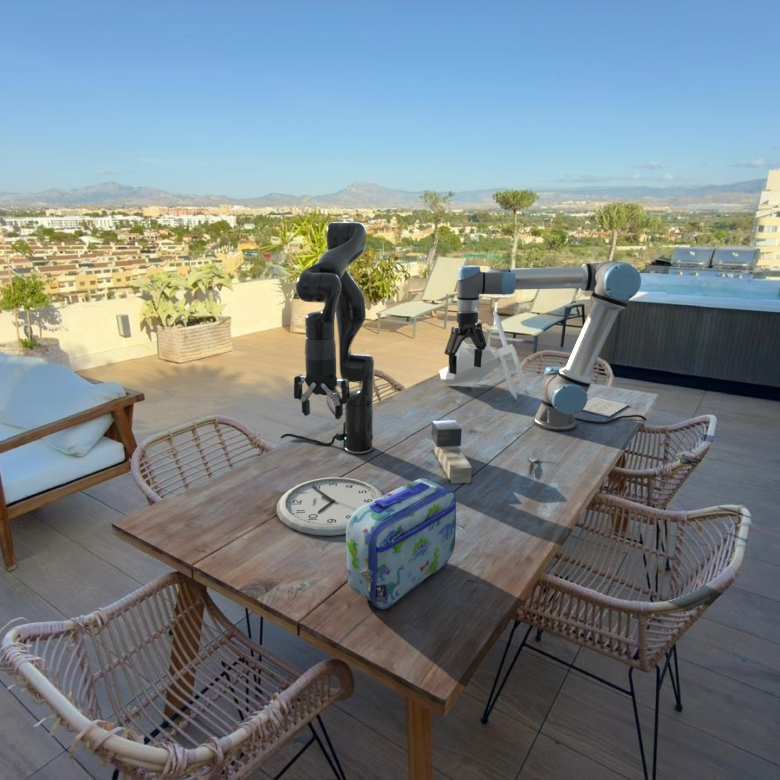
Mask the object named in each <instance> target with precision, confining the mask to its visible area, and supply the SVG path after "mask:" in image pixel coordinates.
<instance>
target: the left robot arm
mask: <svg viewBox="0 0 780 780" xmlns="http://www.w3.org/2000/svg"><path fill="white" fill-rule="evenodd" d="M325 231H326V233H325V240H326V248H327V250H326V251H325V252H324V253H323V254H322V255H321V256H320V258H319V259H318V261H317V262H316V263H314V264H313V265H311V266H309V267H308V268H305V269H304V270H303V271H301V273H300V274H299V275H298V276H297V279H296V282H295V293H296V295H297V297H298V298H299V299H300V300H301V301H303V302H305V303H323V304H324V307H323V308H322V310H317V311H311V312H309V313H307V314H306V315H305V317H304V325H305V326H304V328H305V329H304V330H305V331H304V333H305V341H304V358H305V374H306V375H305V376H304V375H302V374H301V373H299V374H297V375H296V376H294V378H293V398H294V400H299V401H300V402H301V412H302V414H303V416H304V417H305V416H306V417H308V416H309V415H310V414H311V404H310V397H311V396H312V395H313V394H314V396H315V395H321V396H327V397H329V399H330V400H331V401H333V402H334V404H335V405H334V417H335V420H340V418H342V417H343V415H344V421H343V422H342V423H343V424H342V429H343V430H341V431H338V432H336V433H335V435H333V436H332V439H331V441H330V442H323V441H321V440H318V439H313V438H309V437H306V436H303V435H298V434H294V433H284V434H282V435H281V436H280V439H285V438H286V437H291V438H295V439H301V440H303V441H307V442H310V443H316V444H319V445H321V446H332V445H334V443H335V440H337V441H339V442H342V441H343V442H342V443H343V449H344V450H345V452H346V453H348V454H351V455H366V454H369V453H371V452H372V451H373V448H374V446H373V434H374V433H373V429H374V428H373V425H374V424H373V422H374V420H373V417H374V415H373V414H374V409H373V408H374V402H373V401H374V381H375V380H374V379H375V360H374V358H373V356H372V355H370V354H359V353H352V345H353V342H354V341H355V338H356V336H357V335H358V333H359V331H360V330H361V328H363V325H364V323H365V321H366V317H367V315H366V313H367V312H366V300H365V296H364V293H363V291H362V290H361V288H360V286H359V285H358V284H357V283H356V282H355V279H353V277H352V275H350V273H349V271H348V268H349V267H351V265H353V263H354V262H356V261H357V260H358V259H359V258H360V257H361V256H362V255H363V254H364V253H365V251H366V249H367V246H368V245H367V243H368V235H367V229H366V226H365V225H364V224H363V223H361V222H357V221H353V222H352V221H333V222H330V223H328V225H327V227H326V230H325ZM335 320H336V327H337V336H338V337H337V338H338V360H339V361H338V362H339V364H338V365H339V375H340V378H341V379H338V377H337V345H336V339H335V338H336V337H335V335H336V334H335ZM350 383H359V384H361V386H360V387H359V388H355V389H351V390H350ZM303 384H306V385H307V387H308V388H307V389H306V390H305V392H304V393H303ZM337 386H338V387H339V389H340V390H341V395H340V392H339V390H338V388H337Z"/></svg>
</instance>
